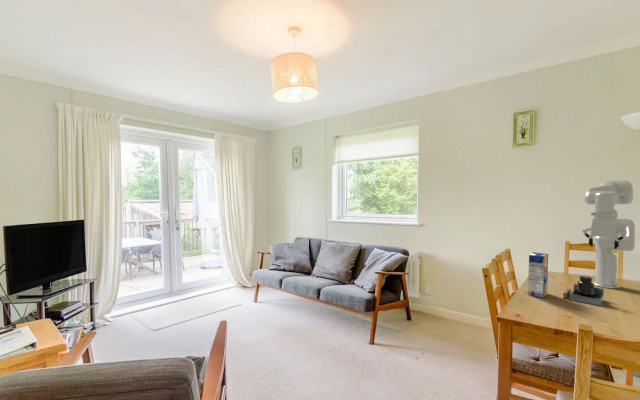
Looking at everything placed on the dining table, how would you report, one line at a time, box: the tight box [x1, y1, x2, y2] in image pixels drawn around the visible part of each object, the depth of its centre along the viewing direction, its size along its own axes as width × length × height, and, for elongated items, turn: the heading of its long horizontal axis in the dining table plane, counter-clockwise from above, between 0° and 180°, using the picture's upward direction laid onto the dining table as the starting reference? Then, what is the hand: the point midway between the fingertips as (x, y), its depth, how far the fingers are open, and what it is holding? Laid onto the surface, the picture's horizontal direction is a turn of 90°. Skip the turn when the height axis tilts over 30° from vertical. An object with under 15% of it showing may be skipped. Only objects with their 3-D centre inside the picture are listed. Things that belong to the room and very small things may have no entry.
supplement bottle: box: [576, 275, 595, 298], centre depth 163 cm, size 7×7×12 cm
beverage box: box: [527, 251, 549, 299], centre depth 172 cm, size 7×11×22 cm, turn 135°
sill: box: [562, 288, 572, 300], centre depth 169 cm, size 12×1×3 cm, turn 132°
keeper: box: [568, 283, 605, 307], centre depth 163 cm, size 12×12×6 cm
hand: (603, 247), depth 167 cm, fingers open, 9 cm apart
